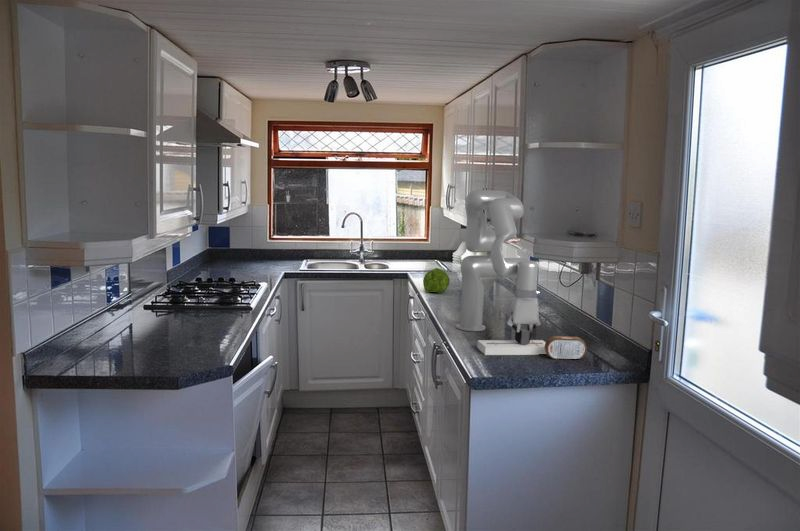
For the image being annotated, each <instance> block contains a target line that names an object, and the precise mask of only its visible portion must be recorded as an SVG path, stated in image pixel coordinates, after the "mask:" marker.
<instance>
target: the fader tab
mask: <svg viewBox="0 0 800 531" xmlns="http://www.w3.org/2000/svg"><path fill="white" fill-rule="evenodd" d="M520 332H521V339H520V344H529V335H530V331H529V330H527V327H520Z"/></svg>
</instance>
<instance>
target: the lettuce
mask: <svg viewBox="0 0 800 531" xmlns="http://www.w3.org/2000/svg"><path fill="white" fill-rule="evenodd" d="M422 282H423V289H424V290H425V291H426V292H427V291H428V292H427V293H429V292H442V293H444V292H445V291H447V289H448V288H449V286H450V283H451V282H450V276H449V275H448V273H447V272H446V271H445V270H443V269H441V268H438V267H436V268H434V269H431V270H429V271H428V272H427V273H425V274H424V276H423V280H422Z"/></svg>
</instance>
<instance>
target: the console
mask: <svg viewBox="0 0 800 531" xmlns="http://www.w3.org/2000/svg"><path fill="white" fill-rule="evenodd" d="M545 343H546V341H544V340H543V339H531V340H530V343H529V344H520V343H518V342H517V341H516V340H515V339H514V340H513V339H502V340H501V339H499V340H498V339H486V340H485V339H479V340H477V346H476V347H477V349H478V350H479V351H480V352H481V353H482V354H484V355H485V356H522V355H523V356H533V355H534V356H539V354H547V353H546V352H545Z"/></svg>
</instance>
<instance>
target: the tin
mask: <svg viewBox="0 0 800 531" xmlns="http://www.w3.org/2000/svg"><path fill="white" fill-rule="evenodd" d="M545 342H546V343H545V352H546V353H547V355H546V356H548V357H550V358H551V359H553V360H559V359H579V360H581V359H583V358H584V357H585V356H586V353H587V349H588V347H587V345H586V342H585V341H584V339H582V338H581V337H578V336H565V335H553V336H551V337H549V338H548V339H547V340H546V341H545Z"/></svg>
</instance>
